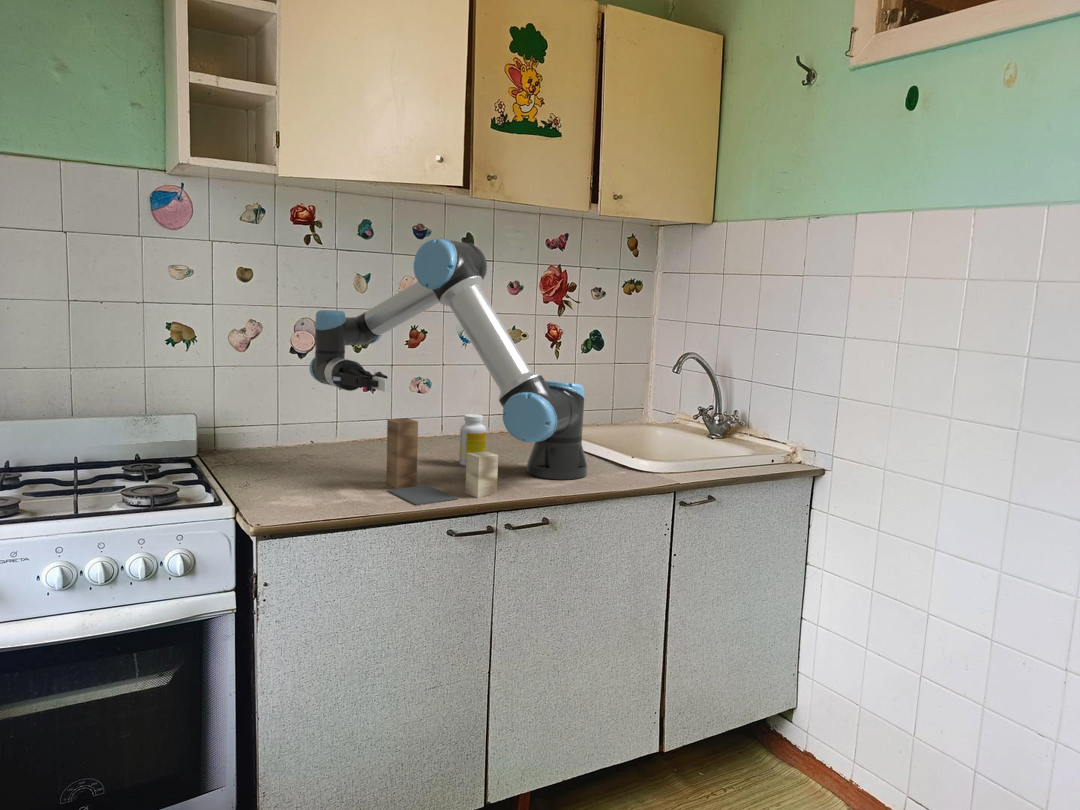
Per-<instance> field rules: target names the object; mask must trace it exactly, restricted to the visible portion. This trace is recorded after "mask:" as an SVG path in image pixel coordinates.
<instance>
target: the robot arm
mask: <svg viewBox="0 0 1080 810" xmlns="http://www.w3.org/2000/svg"><path fill="white" fill-rule="evenodd" d="M487 267H488V265H487V260H486V257H485V254H484V253H483V251H482V250H481V248H478V246H476V245H474V244H472V243H469V242H466V241H456V240H450V239H447V238H432V239H430V240H427V241H426V242H424V243H423V244H421V246H419V248H418V249H417V251H416V253H415V255H414V261H413V273H414V276H415V279H416V280H417V281H415V282H414V283H413V284H411V285H409V286H407V287H406V288H404V289H402V290H400V291H399V292H397V293H395V294H393V295H392V296H390V297H388V298H387V299H385V300H383V301H382V302H380V303H378V304H376V305H375V306H374V307H372V308H370V309H368V310H366V311H365V312H363V313H361V314H359V315H357V316H354V317H353V316H352V317H346V313H345V311H343V310H334V309H332V310H331V309H330V310H329V309H325V310H324V309H320V310H317V311H316V313H315V321H314V322H315V324H314V329H315V331H314V332H315V333H314V334H315V336H314V340H315V342H314V343H315V347H314V348H315V349H314V350H315V352H314V357H313V358H312V359H311V361H310V363H309V373H310V376H311V377H312V378H313V379H314V380H315V381H318V383H321V384H323V385H328V386H332V387H336V388H338V390H339V391H342V390H345V391H349V392H352V391H355V390H358V389H363V388H366V392H370V391H372V389H373V390H378V391H381V392H385V393H387V392H389V393H390V392H392V379H389V378H388V375H385V374H383V372H382V371H377V372H374V374H372V373H371V372H370V371H368V370H365V369H364V367H363V366H362V365H361V364H360V363H359V362H357V361H355V360H350V359H346V358H345V354H346V346H358V345H359V346H367V345H372V344H375V343H377V342H378V341H379V340H380V339H381V337H382V335H384V334H385V333H388V332H389V331H391V330H393V329H394V328H396V327H398V326H399V325H402V324H404V323H405V322H407V321H409V320H410V319H412V318H415V317H416V316H418V315H420V314H422V313H423V312H425V311H427V310H429V309H430V308H432V307H434V306H435V305H437V304H439V303H440V305H442V306H446V307H449V308H450V309H451V311H452V312H453V314H454V316H455V317H456V319H457V321H458V322H459V324H460V326H461V328H462V329H463V331H464V333H465V334H466V336H467V337H468V339H469V341H470V342H471V343H472V346H473V347H474V349H475V351H476V352H477V354H478V355H479V357H480V359H481V360H482V363H483V364H484V365H485V368H486V369H487V371H488V372H489V374H490V376H491V377H492V379H493V381H494V382H495V384H496V386H497V387H498V389H499V390H500V391H499V392H500V393H499V397H498V402H499V403H500V405H501V407H502V422H503V425H504V427H505V429H506V430H507V432H508V433H509V434H510V435H511V437H513V438H515V439H516V440H518V441H521V442H524V443H533V446H532V449H531V451H530V454H529V458H528V460H527V463H526V472H527V473H528V474H529V475H530V476H534V477H537V478H541V479H550V480H577V479H581V478H584V477H586V476H588V462H587V459H586V455H585V452H584V448H583V444H582V443H583V440H582V439H583V425H584V423H583V422H584V408H585V407H584V406H585V400H586V398H585V389H584V386H583V385H582V384H580V383H572V382H563V381H554V380H553V381H551V380H545V378H544V377H543V375H542V374H541V373H538V372H534V371H532V370H531V368H530V367H529V364H528V363H527V362H526V360H525V359H524V356H523V355H522V353H521V352H520V350H519V349H518V346H516V344H515V342H514V340H513V339H512V337H511V334H509V332H508V330H507V329H506V328H505V326H504V324H503V322H502V320H501V319H500V317H499V315H498V314H497V313H496V311H495V309H494V308H493V305H492V304H491V303H490V301H489V299H488V298H487V296H486V294H485V293H484V291H483V289H482V288H481V287H482V284H483V280H484V279H485V278H486V274H487V269H488V268H487ZM376 341H377V342H376ZM374 342H375V343H374ZM365 344H366V345H365Z"/></svg>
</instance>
